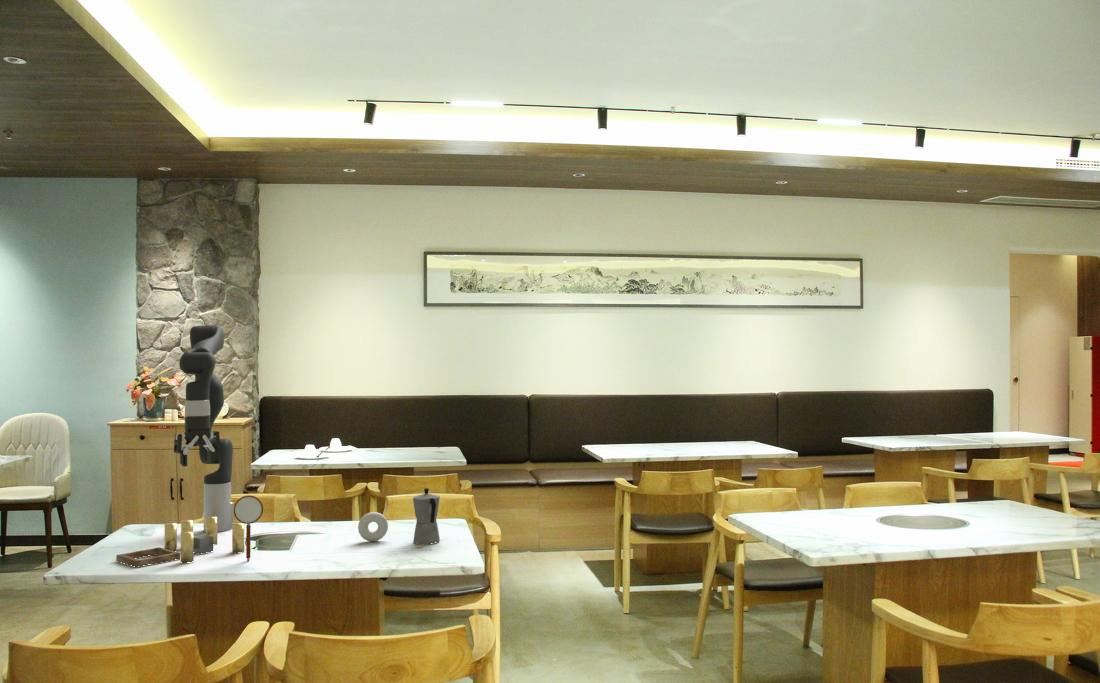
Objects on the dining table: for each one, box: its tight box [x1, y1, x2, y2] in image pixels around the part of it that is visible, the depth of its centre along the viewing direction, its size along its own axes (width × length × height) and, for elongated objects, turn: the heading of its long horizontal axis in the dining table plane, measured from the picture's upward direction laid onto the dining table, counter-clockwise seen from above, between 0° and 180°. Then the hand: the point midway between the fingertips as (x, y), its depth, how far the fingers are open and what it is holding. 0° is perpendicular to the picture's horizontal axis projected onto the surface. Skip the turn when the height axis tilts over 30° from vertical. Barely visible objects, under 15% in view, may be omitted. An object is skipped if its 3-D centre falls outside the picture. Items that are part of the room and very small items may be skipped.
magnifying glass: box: [233, 494, 264, 562], centre depth 249 cm, size 9×2×20 cm, turn 99°
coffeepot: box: [412, 487, 441, 545], centre depth 274 cm, size 15×9×18 cm, turn 26°
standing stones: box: [163, 516, 245, 564], centre depth 261 cm, size 22×23×9 cm
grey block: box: [193, 534, 214, 555], centre depth 262 cm, size 4×4×5 cm
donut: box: [357, 511, 389, 542], centre depth 276 cm, size 10×4×10 cm, turn 103°
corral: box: [115, 546, 181, 568], centre depth 251 cm, size 13×13×2 cm
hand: (197, 465), depth 261 cm, fingers open, 8 cm apart
